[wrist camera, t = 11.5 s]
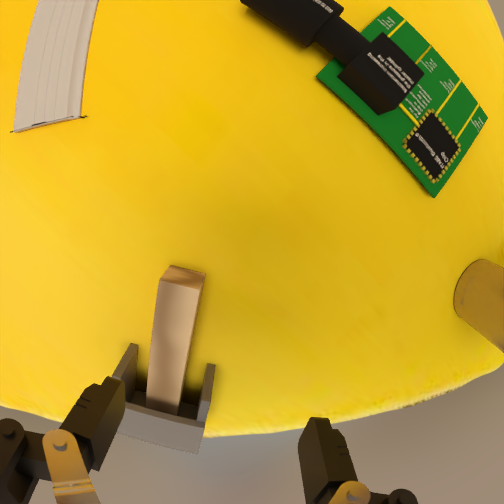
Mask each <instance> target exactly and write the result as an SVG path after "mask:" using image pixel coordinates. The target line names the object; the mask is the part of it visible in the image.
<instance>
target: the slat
mask: <svg viewBox="0 0 504 504" xmlns="http://www.w3.org/2000/svg"><path fill="white" fill-rule="evenodd" d="M204 279H205V273H201V272H196V271H192V270H188V269H184V268H180V267H176V266H172V265H170V266H169V268H168V269H167V270H166V272H165V273H164V274H163V276H162V277H161V278H160V280H159V286H158V292H157V299H156V306H155V314H154V322H153V330H152V339H151V348H150V358H149V368H148V380H147V393H146V408H148V409H152V410H155V411H159V412H163V413H167V414H171V415H175V416H177V414H178V410H179V405H180V401H181V397H182V392H183V387H184V381H185V375H186V370H187V364H188V359H189V354H190V348H191V343H192V338H193V333H194V328H195V323H196V318H197V313H198V308H199V303H200V298H201V293H202V289H203V284H204Z"/></svg>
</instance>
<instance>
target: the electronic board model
mask: <svg viewBox="0 0 504 504" xmlns="http://www.w3.org/2000/svg"><path fill="white" fill-rule="evenodd" d="M240 2H241V3H243V4H244V5H246V6H248V7H249V8H251V9H253V10H254V11H256V12H257V13H259V14H260V15H262V16H264V17H265V18H267V19H268V20H270V21H271V22H273V23H274V24H276V25H277V26H279V27H280V28H281V29H283V30H284V31H286V32H287V33H289V34H290V35H291V36H293V37H294V38H295V39H297V40H298V41H299V42H301V43H302V44H303V45H305V46H306V47H308V46H310V45H311V44H312V43H314V42H315V41H316V42H317V43H318V44H320V45H321V46H322V47H323V48H325V49H326V50H327V51H328V52H329V53H331V54H332V55H333V56H334V58H333V59H332V60H331V61H330V62H329V63H328V64H327V65H326V66H325V67H324V68H323V69H322V70H321V71H320V72H319V73H318V74H317V76H316V77H317V78H318V79H319V80H320V81H322V82H323V83H324V84H325V85H326V86H328V87H329V88H330V89H331V90H332V91H333V92H334V93H335V94H337V95H338V96H339V97H340V98H341V99H342V100H343V101H344V102H345V103H346V104H348V105H349V106H350V107H351V108H352V109H353V110H354V111H355V112H356V113H357V114H358V115H359V116H360V117H361V118H362V119H363V120H364V121H365V122H366V123H367V124H368V125H369V126H370V127H371V128H372V129H373V130H374V131H375V132H376V133H377V134H378V135H379V136H380V137H381V138H382V139H383V140H384V141H385V142H386V143H387V145H388V146H389V147H390V148H391V149H392V150H393V151H394V152H395V153H396V154H397V156H398V157H399V158H400V159H401V160H402V161H403V162H404V163H405V165H406V166H407V167H408V168H409V169H410V170H411V172H412V173H413V174H414V175H415V176H416V178H417V179H418V180H419V181H420V183H421V184H422V185H423V186H424V187H425V189H426V190H427V191H428V193H429V194H430V195H431V196H432V198H435V197H436V196H437V194H438V193H439V192H440V190H441V189H442V187H443V186H444V185H445V183H446V182H447V180H448V179H449V178H450V176H451V175H452V173H453V172H454V170H455V169H456V167H457V166H458V164H459V163H460V161H461V160H462V158H463V157H464V155H465V154H466V152H467V151H468V149H469V148H470V146H471V145H472V143H473V142H474V140H475V138H476V137H477V135H478V134H479V132H480V130H481V129H482V127H483V125H484V124H485V122H486V120H487V119H488V117H487V116H486V114H485V113H484V111H483V110H482V108H481V107H480V104H479V103H477V101H476V100H475V98H474V97H473V96H472V94H471V93H470V92H469V90H468V89H467V88H466V86H465V85H464V84H463V82H462V80H461V79H459V77H458V76H457V75H456V74H455V72H454V71H453V70H452V69H451V68H450V66H449V65H448V64H447V63H446V62H445V60H444V59H443V58H442V57H441V56H440V55H439V54H438V53H437V51H436V50H435V49H434V48H433V47H432V45H430V44H429V43H428V42H427V41H426V40H425V39H424V38H423V37H422V36H421V35H420V34H419V33H418V32H417V31H416V30H415V29H414V28H413V27H412V26H411V25H410V24H409V23H408V22H407V20H406V19H404V18H403V17H402V16H400V15H399V14H398V13H397V12H396V11H395V10H394V9H393V8H391V7H390V6H389V7H388V8H387V9H386V10H385V11H384V12H383V13H381V14H380V15H379V16H378V17H377V18H376V19H375V20H374V21H373V22H371V23H370V24H369V25H368V26H367V27H366V28H365V29H364V30H363V31H362V32H361V33H359V32H358V31H357V30H355V29H354V28H353V27H352V26H350V25H349V24H348V23H347V22H345V21H344V20H343V19H342V18H340V17H339V16H340V14H341V13H342V12H343V10H344V8H343V7H342V6H341V5H340V4H338V3H337V2H335V1H334V0H240Z"/></svg>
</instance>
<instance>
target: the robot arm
mask: <svg viewBox="0 0 504 504" xmlns="http://www.w3.org/2000/svg"><path fill="white" fill-rule="evenodd" d="M454 307H455V311H456V313H457V314H458V316H459V317H461V318H462V319H463V320H464V321H466V322H467V323H468V324H469V325H471V326H472V327H473V328H474V329H475V330H477V331H478V332H479V333H480V334H482V335H483V336H484V337H485V338H487V339H488V340H489V341H490V342H491V343H493V344H494V345H495V346H496V347H497V348H499V349H500V350H501V351H502V352H503V353H504V268H502V267H500V266H498V265H496V264H494V263H492V262H489V261H487V260H478V261H476V262H474V263H472V264H471V265H470V266H469V267H468V268H467V269H466V270H465V272H464V273H463V275H462V276H461V278H460V280H459V282H458V284H457V287H456V290H455V296H454ZM125 406H126V404H125V383H124V381H122V380H119V379H115V378H112V377H109V376H107V377H106V378H105V380H104V381H103V383H102V385H101V386H100V385H98V384H95V383H94V384H92V385H91V386H89V387H87V388H86V389H85V390H84V391H83V393H82V394H81V396H80V398H79V399H78V400H77V402H76V404H75V405H74V406H73V408H72V409H71V411H70V412H69V414H68V415H67V417H66V419H65V420H64V422H63V423H62V425H61V426H60V428H59V429H54V430H51V431H49V432H47V433H46V434H39V433H34V432H29V431H25V430H24V429H23V427H22V425H21V424H20V423H19V422H17V421H16V420H13V419H9V418H8V419H7V418H6V419H2V420H0V504H28V503H29V501H30V499H31V496H32V494H33V492H34V490H35V487H36V485H37V483H38V481H39V479H42V480H48V481H52V482H53V492H54V495H55V499H56V502H57V504H101V503H100V501H99V499H98V496H97V494H96V492H95V489H94V487H93V485H92V483H91V480H90V478H89V475H88V474H89V472H90V470H91V469H94V470H96V471H99V470H100V467H101V465H102V463H103V461H104V458H105V456H106V454H107V452H108V449H109V447H110V445H111V443H112V441H113V438H114V436H115V434H116V432H117V430H118V427H119V425H120V423H121V421H122V419H123V416H124V413H125ZM298 454H299V461H300V467H301V474H302V480H303V486H304V493H305V500H306V504H418V502H417V499H416V497H415V495H414V494H413V493H412V492H410V491H408V490H406V489H397V490H394V491H393V492H392V493H391V494H390V495H386V494H379V493H373V492H370V491H369V489H368V488H367V487H366V486H365V485H364V484H362V483H360V482H358V479H357V476H356V473H355V470H354V466H353V463H352V460H351V457H350V455H349V450H348V448H347V444H346V441H345V438H344V436H343V435H342V434H341V433H340V432H339V430H338V429H332V427H331V424H330V420H329V419H328V418H319V417H311V418H310V419H309V421H308V423H307V425H306V427H305V429H304V431H303V433H302V435H301V437H300V439H299V443H298Z"/></svg>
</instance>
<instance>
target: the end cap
mask: <svg viewBox="0 0 504 504" xmlns="http://www.w3.org/2000/svg"><path fill="white" fill-rule="evenodd" d="M137 355H138V345H135V344H132V343H131V344H130V346H129V347H128V349H127V351H126V352H125V354H124V356H123V357H122V359H121V361H120V362H119V364H118V366H117V368H116V369H115V371H114V373H113V375H112V378H115V379H119V380H122V381H124V383H125V404H126V406H125V413H124V416H123V419H122V421H121V423H120V425H119V427H118V430H117V432H116V433H119V434H122V435H125V436H128V437H131V438H134V439H138V440H141V441H145V442H149V443H152V444H155V445H159V446H163V447H167V448H171V449H176V450H180V451H185V452H189V453H194V454H198V451H199V448H200V444H201V440H202V436H203V432H204V429H205V422H206V418H207V414H208V410H209V406H210V402H211V395H212V387H213V379H214V371H215V365H213V364H208V363H207V367H206V372H205V376H204V380H203V385H202V389H201V393H200V398H199V402H198V406H195V405H190V404H186V403H182V402H180V405H179V410H178V414H177V416H175V415H171V414H167V413H163V412H159V411H155V410H152V409H148V408H146V393H144V392H141V391H137V390H135V387H136V369H137Z"/></svg>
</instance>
